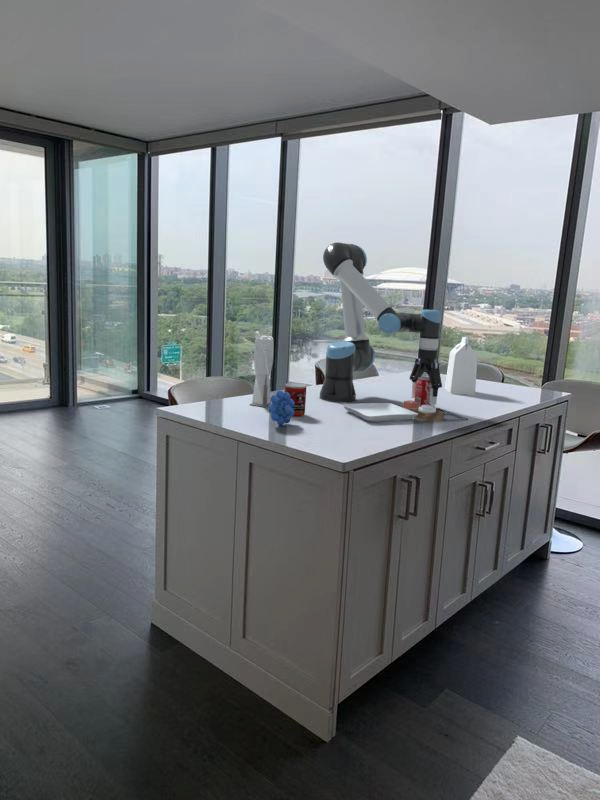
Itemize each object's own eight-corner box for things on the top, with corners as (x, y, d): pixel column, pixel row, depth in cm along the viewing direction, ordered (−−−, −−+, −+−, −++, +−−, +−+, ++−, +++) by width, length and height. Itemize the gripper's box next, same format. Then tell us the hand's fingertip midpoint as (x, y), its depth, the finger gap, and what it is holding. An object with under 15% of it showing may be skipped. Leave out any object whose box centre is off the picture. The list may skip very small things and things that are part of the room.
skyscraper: (246, 404, 235) (249, 331, 230) (256, 401, 243) (259, 330, 237) (265, 407, 232) (269, 333, 227) (275, 404, 239) (279, 332, 234)
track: (445, 421, 226) (445, 419, 226) (417, 409, 244) (417, 408, 244) (468, 420, 230) (468, 418, 230) (438, 409, 248) (439, 407, 248)
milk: (475, 395, 285) (481, 339, 280) (450, 393, 285) (456, 337, 280) (468, 390, 297) (474, 336, 292) (444, 389, 297) (450, 335, 292)
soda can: (433, 407, 252) (436, 378, 249) (429, 409, 245) (432, 380, 243) (416, 404, 254) (418, 376, 252) (411, 407, 248) (414, 378, 246)
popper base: (422, 421, 224) (423, 413, 223) (409, 416, 232) (410, 408, 231) (443, 420, 227) (444, 412, 226) (430, 415, 235) (430, 407, 234)
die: (410, 413, 237) (411, 402, 236) (403, 411, 240) (403, 400, 239) (417, 412, 239) (418, 402, 239) (410, 410, 242) (411, 400, 242)
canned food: (289, 417, 218) (291, 386, 216) (280, 412, 225) (281, 383, 223) (308, 416, 222) (310, 386, 220) (298, 411, 229) (300, 382, 227)
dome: (423, 416, 225) (424, 408, 224) (414, 412, 231) (415, 404, 230) (438, 416, 227) (439, 407, 227) (429, 412, 233) (430, 404, 232)
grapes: (277, 430, 199) (279, 393, 196) (263, 426, 203) (264, 390, 201) (302, 425, 207) (304, 390, 205) (287, 421, 212) (289, 387, 209)
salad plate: (340, 412, 234) (341, 403, 233) (389, 410, 242) (390, 401, 241) (367, 425, 215) (367, 415, 214) (418, 423, 223) (419, 413, 222)
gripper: (454, 352, 235) (449, 407, 239) (419, 345, 258) (415, 395, 262) (437, 352, 233) (432, 407, 237) (404, 345, 255) (399, 395, 259)
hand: (423, 401), depth 249 cm, fingers open, 13 cm apart
